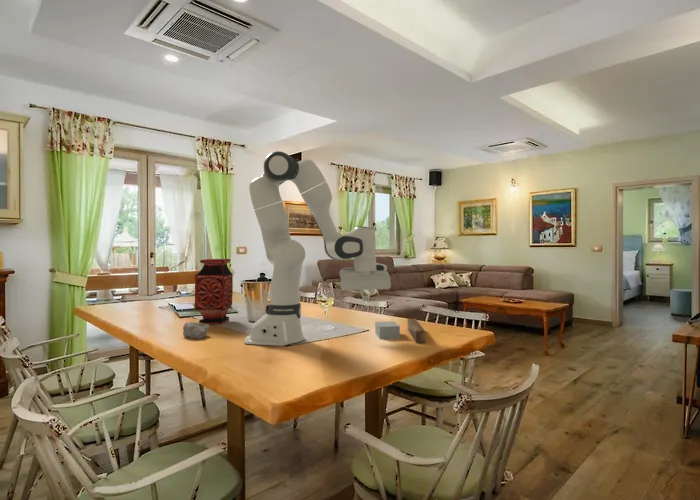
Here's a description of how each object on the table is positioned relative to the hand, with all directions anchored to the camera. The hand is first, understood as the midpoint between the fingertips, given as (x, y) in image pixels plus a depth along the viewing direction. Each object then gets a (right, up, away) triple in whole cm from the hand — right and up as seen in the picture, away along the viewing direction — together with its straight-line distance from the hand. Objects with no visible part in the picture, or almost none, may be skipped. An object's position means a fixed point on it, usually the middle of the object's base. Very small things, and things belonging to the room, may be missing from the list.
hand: (366, 300), depth 163 cm
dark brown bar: (+20, -14, 0) cm, 25 cm away
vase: (-71, -14, +29) cm, 78 cm away
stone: (-69, -15, 0) cm, 70 cm away
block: (+9, -14, 0) cm, 17 cm away
